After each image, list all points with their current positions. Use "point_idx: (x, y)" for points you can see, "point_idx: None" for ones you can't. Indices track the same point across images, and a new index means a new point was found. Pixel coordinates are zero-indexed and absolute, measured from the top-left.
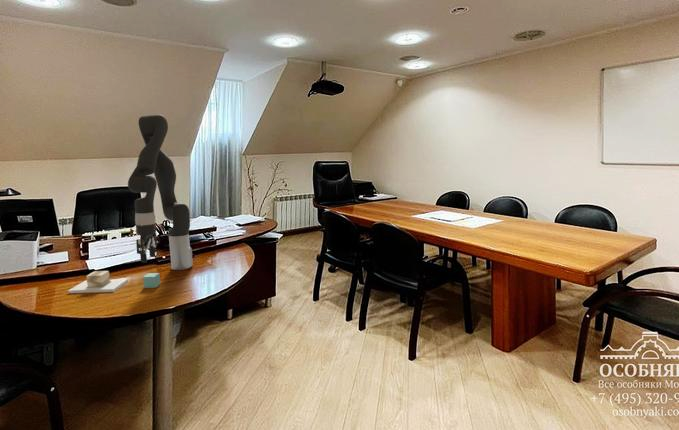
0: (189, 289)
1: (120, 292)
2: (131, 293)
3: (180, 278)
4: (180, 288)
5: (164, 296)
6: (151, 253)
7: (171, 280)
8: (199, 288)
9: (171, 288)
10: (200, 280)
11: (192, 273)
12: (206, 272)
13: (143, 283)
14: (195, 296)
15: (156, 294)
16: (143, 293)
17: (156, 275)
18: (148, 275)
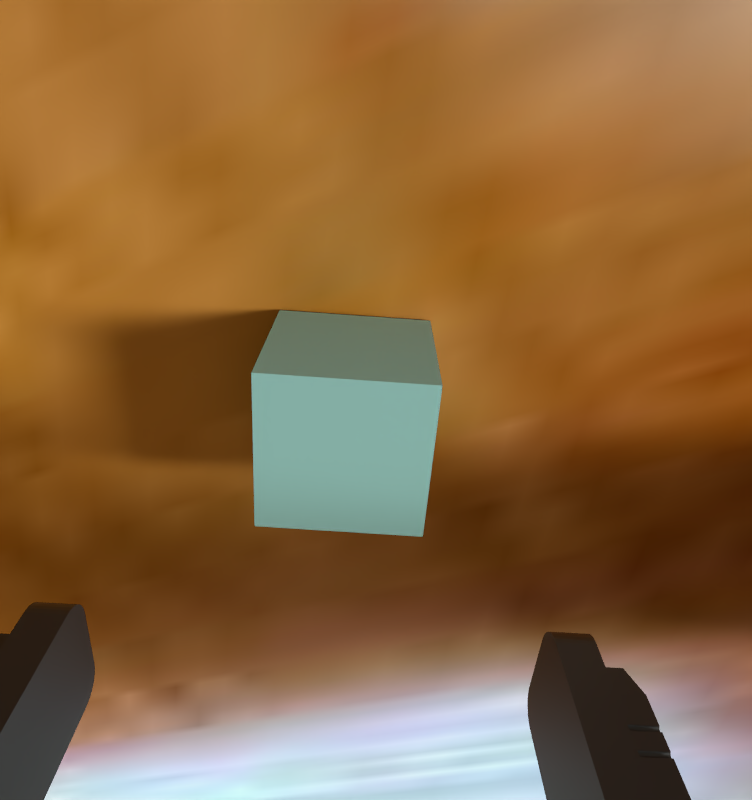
0: (219, 709)
1: (136, 32)
2: (105, 217)
3: (553, 591)
4: (248, 647)
5: (43, 575)
6: (563, 737)
7: (509, 526)
8: (238, 762)
9: (254, 581)
10: (443, 742)
11: (689, 657)
12: (670, 751)
13: (268, 335)
14: (64, 765)
15: (89, 498)
16: (111, 363)
17: (315, 528)
18: (321, 430)
